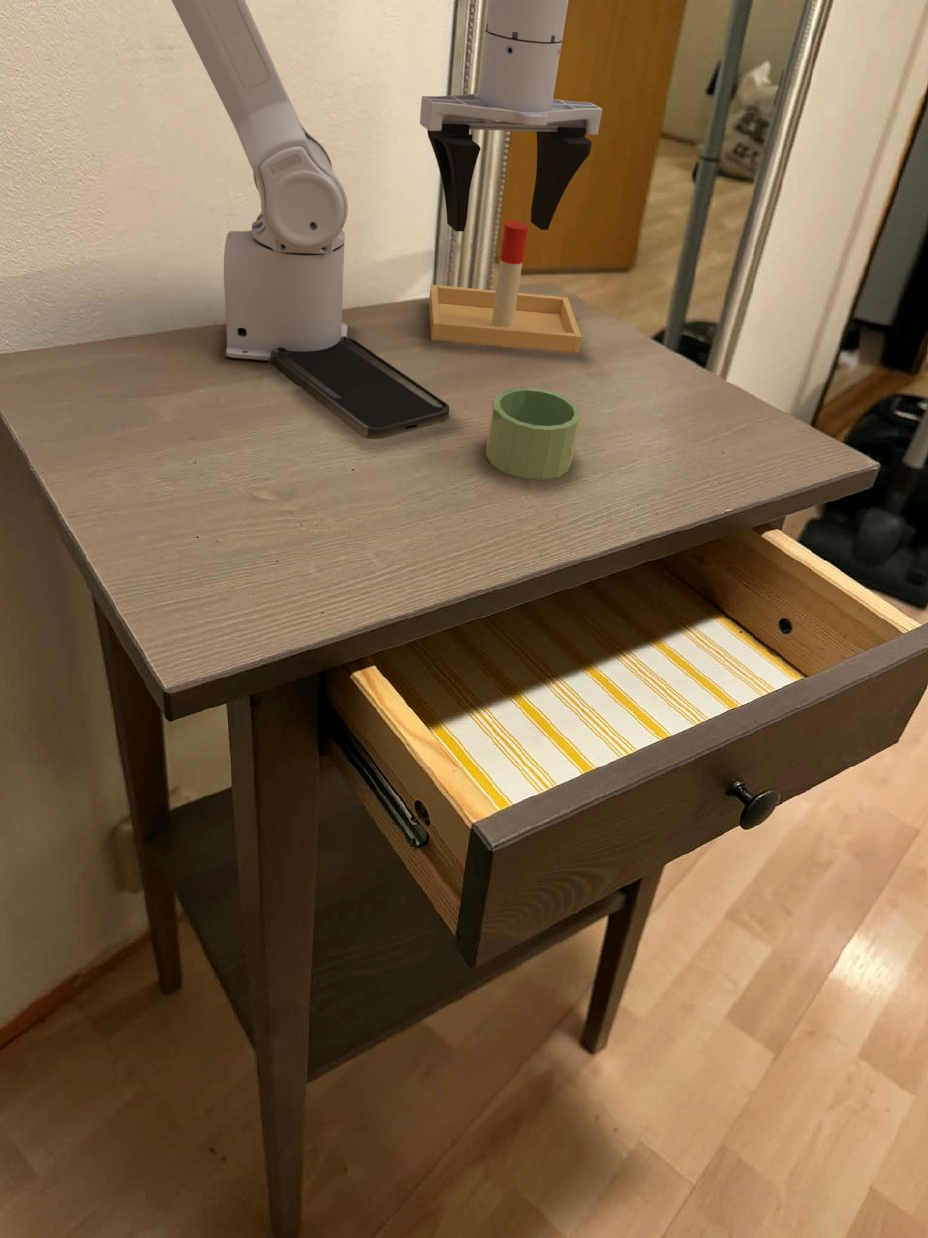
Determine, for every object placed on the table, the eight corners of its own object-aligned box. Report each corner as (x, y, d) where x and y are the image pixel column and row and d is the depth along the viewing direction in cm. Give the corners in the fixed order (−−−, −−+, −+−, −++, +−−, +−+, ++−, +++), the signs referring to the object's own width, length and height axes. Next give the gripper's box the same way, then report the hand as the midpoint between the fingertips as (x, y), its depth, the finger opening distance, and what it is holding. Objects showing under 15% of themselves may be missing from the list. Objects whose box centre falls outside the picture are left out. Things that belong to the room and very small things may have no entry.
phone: (346, 334, 80) (455, 409, 72) (346, 346, 81) (454, 422, 72) (263, 350, 76) (369, 432, 67) (264, 363, 77) (368, 446, 68)
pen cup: (488, 482, 66) (497, 425, 64) (482, 439, 71) (490, 383, 68) (574, 488, 67) (587, 432, 64) (563, 445, 72) (574, 390, 69)
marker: (491, 328, 86) (505, 227, 81) (489, 319, 88) (503, 219, 82) (514, 330, 87) (529, 230, 81) (512, 321, 88) (527, 222, 82)
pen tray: (431, 344, 83) (433, 322, 82) (428, 304, 90) (430, 284, 89) (577, 357, 85) (581, 336, 83) (563, 317, 92) (567, 297, 91)
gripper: (453, 40, 64) (434, 245, 72) (635, 52, 69) (597, 241, 78) (416, 20, 68) (402, 215, 77) (589, 33, 74) (558, 213, 82)
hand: (498, 226), depth 78 cm, fingers open, 7 cm apart
